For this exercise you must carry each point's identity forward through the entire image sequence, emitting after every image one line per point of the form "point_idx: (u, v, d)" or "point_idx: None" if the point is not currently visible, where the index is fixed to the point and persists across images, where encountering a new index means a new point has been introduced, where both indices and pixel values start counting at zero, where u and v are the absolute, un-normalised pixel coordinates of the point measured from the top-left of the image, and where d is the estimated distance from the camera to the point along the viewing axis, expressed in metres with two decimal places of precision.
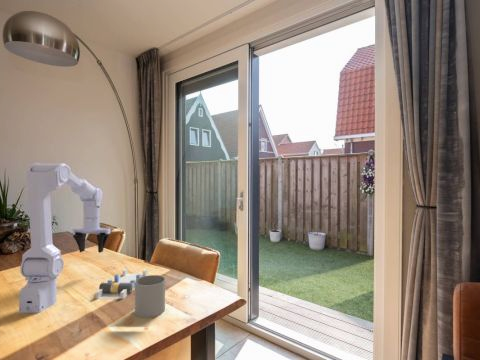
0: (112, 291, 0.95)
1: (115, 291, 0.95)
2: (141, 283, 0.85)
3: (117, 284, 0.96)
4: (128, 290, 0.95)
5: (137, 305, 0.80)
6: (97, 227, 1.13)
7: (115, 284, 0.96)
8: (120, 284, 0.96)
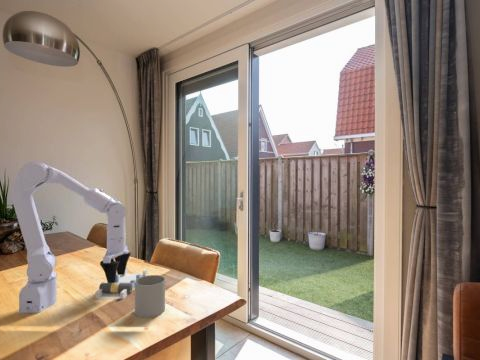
0: (112, 291, 0.95)
1: (115, 291, 0.95)
2: (141, 283, 0.85)
3: (117, 284, 0.96)
4: (128, 290, 0.95)
5: (137, 305, 0.80)
6: (110, 251, 0.93)
7: (115, 284, 0.96)
8: (120, 284, 0.96)
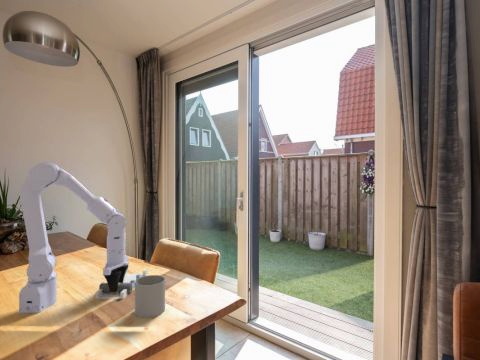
0: None
1: None
2: (141, 283, 0.85)
3: None
4: (128, 290, 0.95)
5: (137, 305, 0.80)
6: (110, 262, 0.93)
7: None
8: (120, 284, 0.96)
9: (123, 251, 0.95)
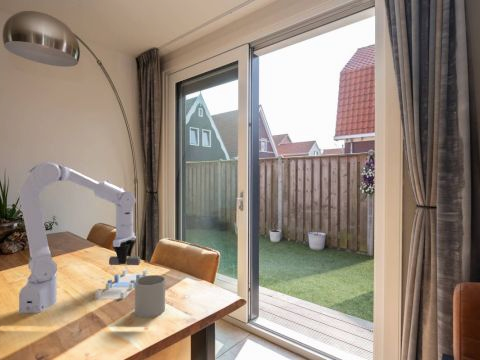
0: None
1: None
2: (141, 283, 0.85)
3: None
4: (136, 262, 1.02)
5: (137, 305, 0.80)
6: (119, 236, 1.00)
7: None
8: (128, 257, 1.03)
9: (131, 226, 1.02)
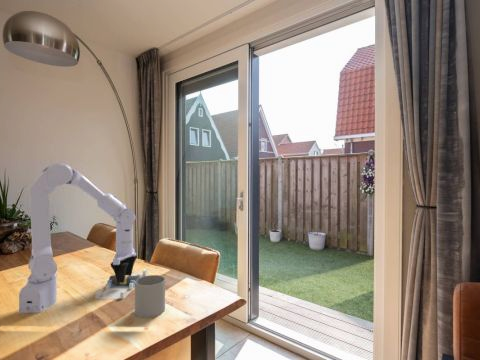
0: (121, 283, 1.02)
1: (124, 283, 1.02)
2: (141, 283, 0.85)
3: (126, 276, 1.03)
4: None
5: (137, 305, 0.80)
6: (119, 253, 1.00)
7: None
8: (128, 276, 1.03)
9: (131, 243, 1.02)
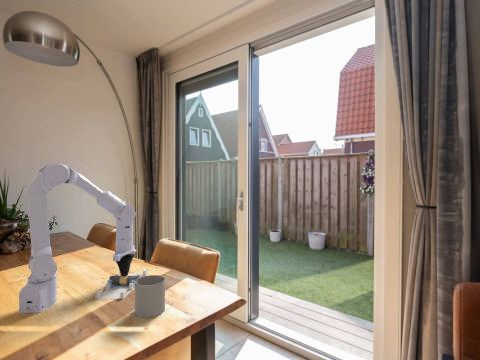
0: (121, 283, 1.02)
1: (124, 283, 1.02)
2: (141, 283, 0.85)
3: (126, 276, 1.03)
4: None
5: (137, 305, 0.80)
6: (119, 250, 1.00)
7: (124, 276, 1.03)
8: (128, 276, 1.03)
9: (131, 240, 1.02)
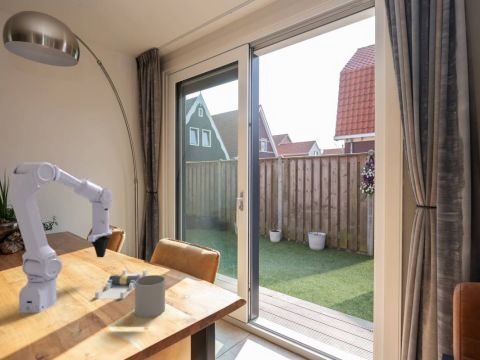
0: (121, 283, 1.02)
1: (124, 283, 1.02)
2: (141, 283, 0.85)
3: (126, 276, 1.03)
4: None
5: (137, 305, 0.80)
6: (95, 232, 1.04)
7: (124, 276, 1.03)
8: (128, 276, 1.03)
9: (107, 222, 1.06)
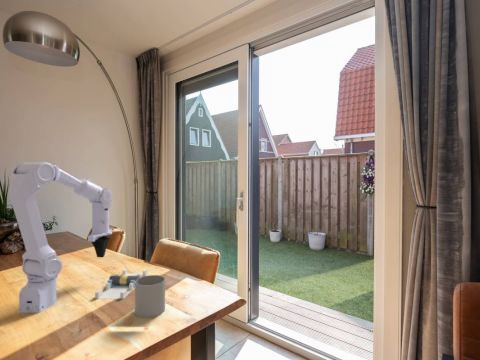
0: (121, 283, 1.02)
1: (124, 283, 1.02)
2: (141, 283, 0.85)
3: (126, 276, 1.03)
4: None
5: (137, 305, 0.80)
6: (95, 232, 1.04)
7: (124, 276, 1.03)
8: (128, 276, 1.03)
9: (107, 222, 1.06)
